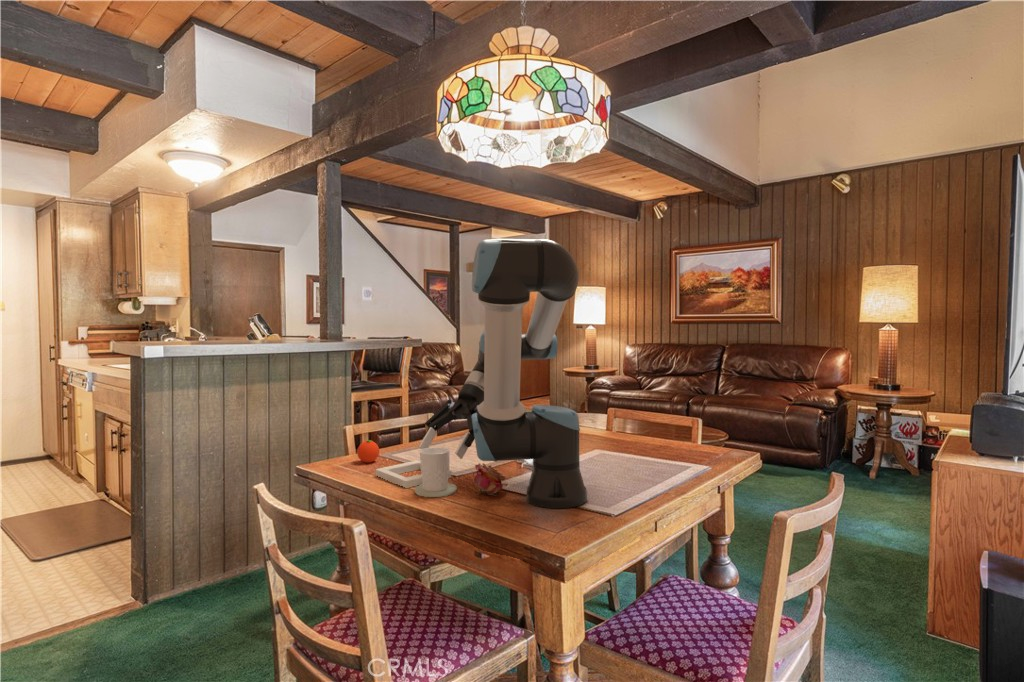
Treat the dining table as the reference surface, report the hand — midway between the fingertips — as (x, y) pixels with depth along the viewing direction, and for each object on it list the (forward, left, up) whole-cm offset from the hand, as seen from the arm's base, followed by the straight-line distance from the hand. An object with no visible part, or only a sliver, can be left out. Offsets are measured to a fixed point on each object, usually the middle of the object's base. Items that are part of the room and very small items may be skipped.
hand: (439, 452), depth 148 cm
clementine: (+40, 0, -10) cm, 41 cm away
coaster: (-1, +2, -10) cm, 10 cm away
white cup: (-1, +2, -9) cm, 9 cm away
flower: (-13, -7, -10) cm, 18 cm away
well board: (+15, -1, -10) cm, 18 cm away
